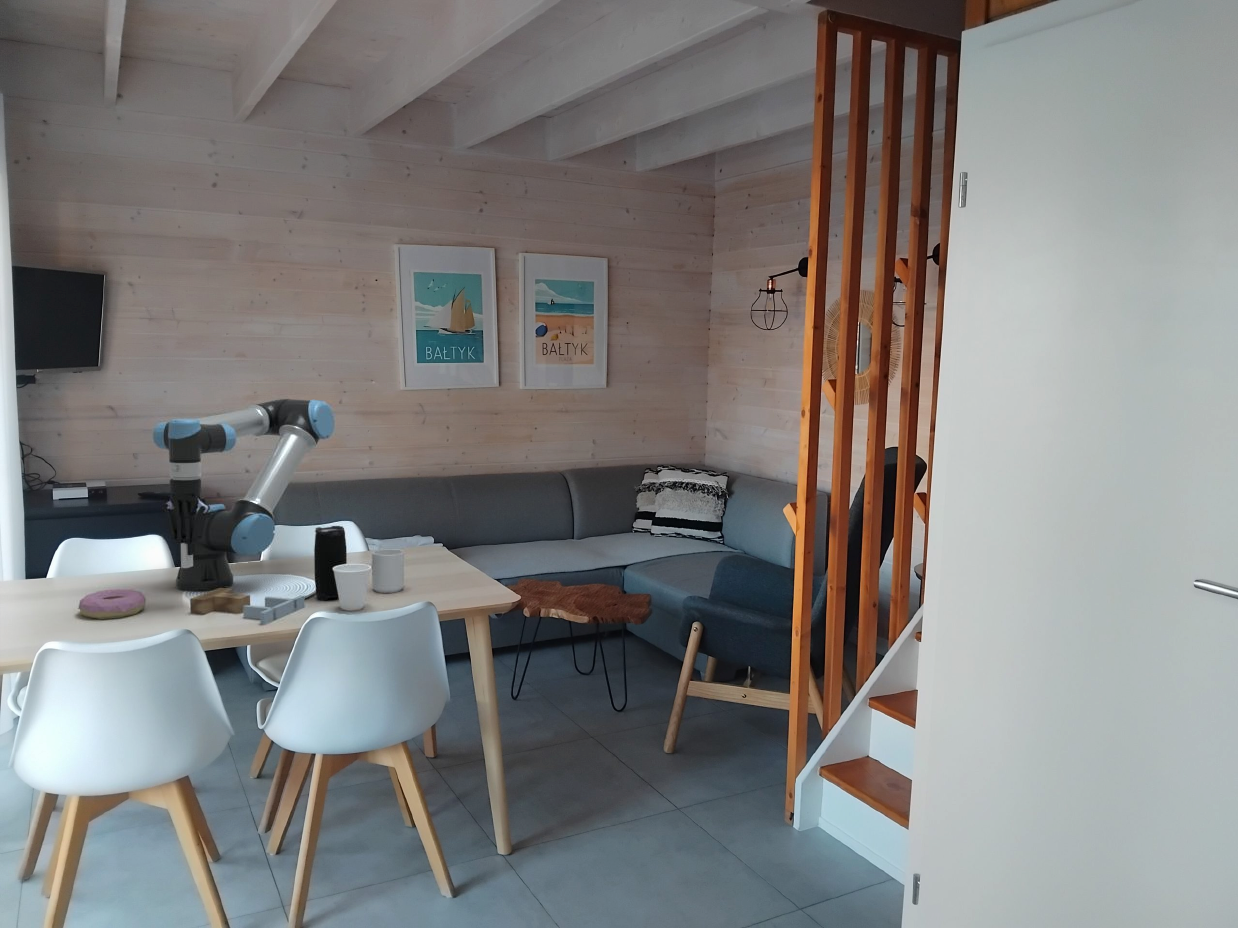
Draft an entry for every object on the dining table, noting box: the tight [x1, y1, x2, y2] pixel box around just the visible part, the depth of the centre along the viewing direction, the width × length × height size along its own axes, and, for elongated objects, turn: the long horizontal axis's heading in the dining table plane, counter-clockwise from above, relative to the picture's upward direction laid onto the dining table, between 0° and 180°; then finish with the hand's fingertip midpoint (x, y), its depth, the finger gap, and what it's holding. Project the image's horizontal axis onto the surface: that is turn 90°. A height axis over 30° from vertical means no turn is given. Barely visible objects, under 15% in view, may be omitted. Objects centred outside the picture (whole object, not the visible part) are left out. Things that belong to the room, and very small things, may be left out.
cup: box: [333, 563, 372, 612], centre depth 255 cm, size 10×10×11 cm
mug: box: [371, 548, 405, 594], centre depth 276 cm, size 12×9×11 cm
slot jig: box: [242, 595, 306, 626], centre depth 248 cm, size 9×18×3 cm, turn 166°
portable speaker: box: [313, 525, 348, 602], centre depth 265 cm, size 9×9×20 cm
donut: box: [77, 588, 147, 620], centre depth 246 cm, size 16×15×5 cm
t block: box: [189, 587, 251, 616], centre depth 251 cm, size 12×12×4 cm
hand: (187, 566), depth 252 cm, fingers closed
